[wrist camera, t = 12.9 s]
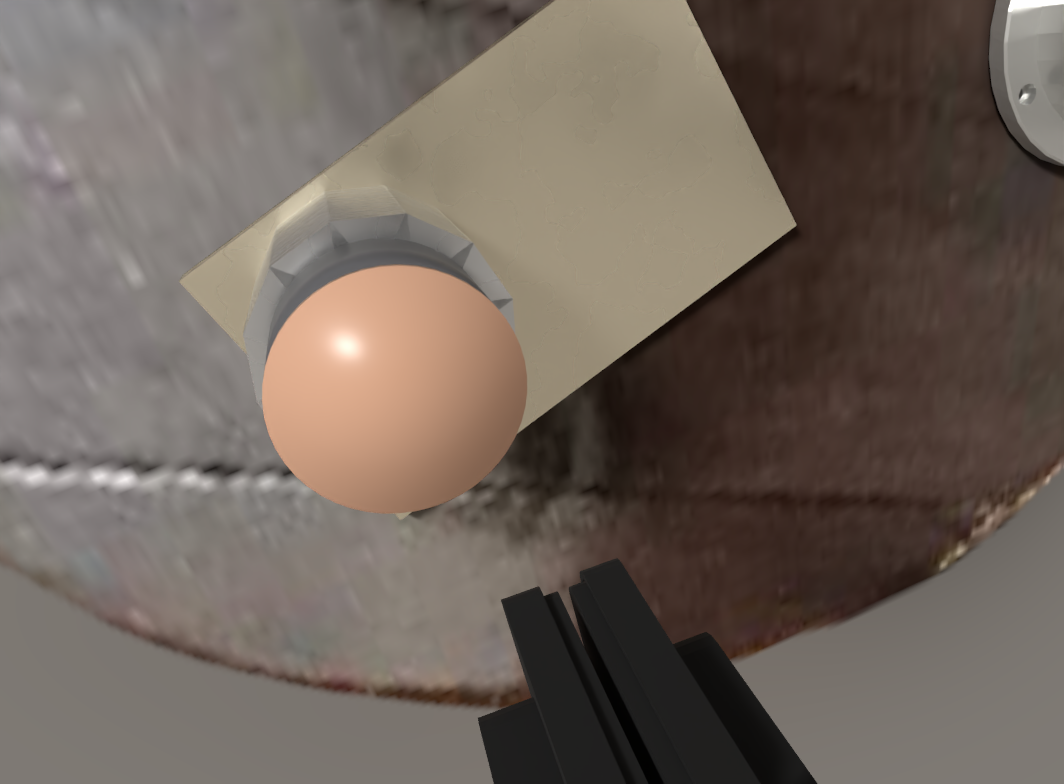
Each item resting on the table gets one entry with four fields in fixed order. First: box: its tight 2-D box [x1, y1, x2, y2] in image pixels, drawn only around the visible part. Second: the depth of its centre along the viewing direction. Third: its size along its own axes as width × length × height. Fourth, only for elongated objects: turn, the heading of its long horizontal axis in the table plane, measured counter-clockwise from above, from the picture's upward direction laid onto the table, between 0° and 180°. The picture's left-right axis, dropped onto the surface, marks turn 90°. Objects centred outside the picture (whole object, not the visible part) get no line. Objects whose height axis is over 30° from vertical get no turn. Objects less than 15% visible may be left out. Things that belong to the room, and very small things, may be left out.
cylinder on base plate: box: [179, 0, 796, 520], centre depth 29 cm, size 21×13×8 cm, turn 124°
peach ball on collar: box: [262, 238, 527, 513], centre depth 24 cm, size 7×7×7 cm
